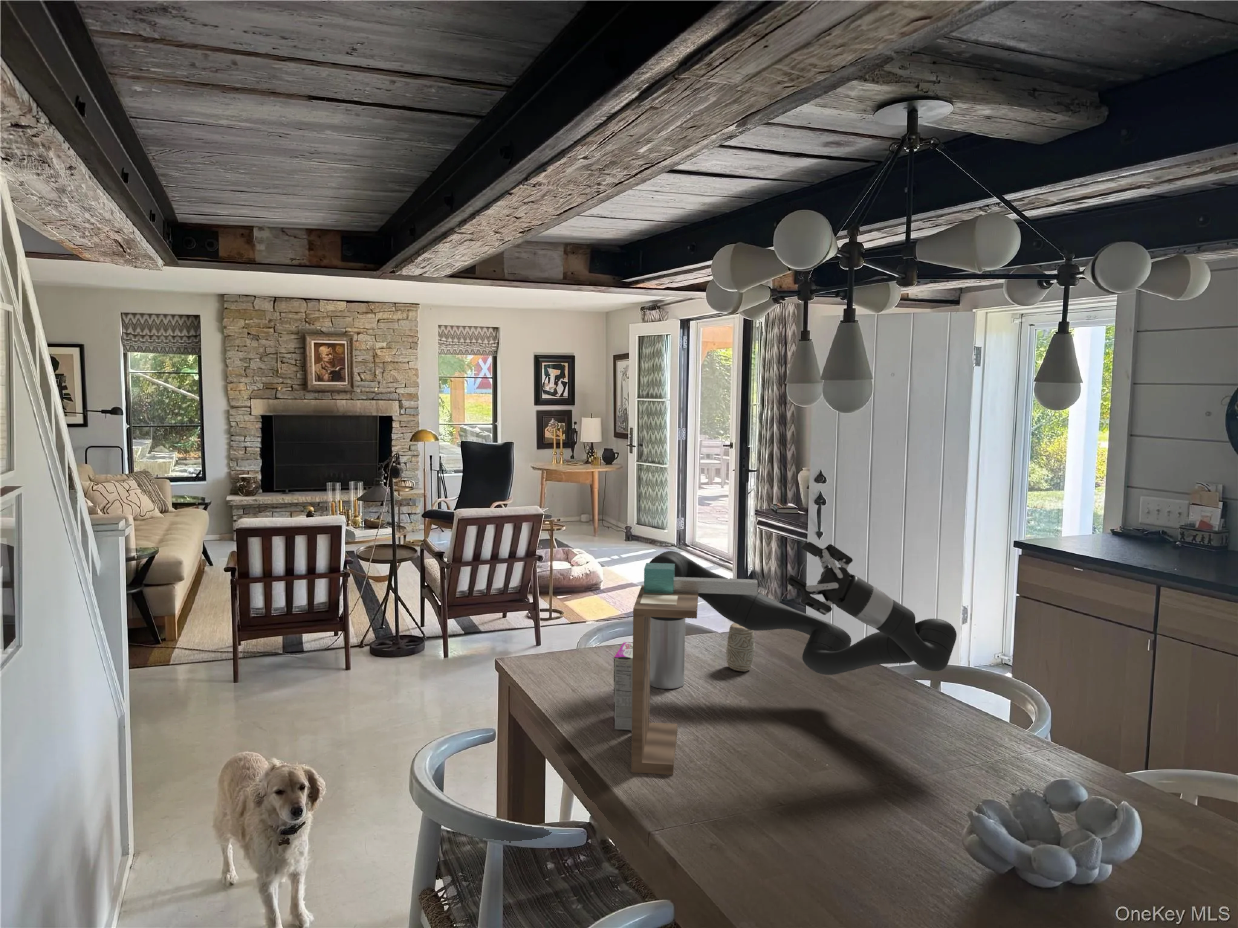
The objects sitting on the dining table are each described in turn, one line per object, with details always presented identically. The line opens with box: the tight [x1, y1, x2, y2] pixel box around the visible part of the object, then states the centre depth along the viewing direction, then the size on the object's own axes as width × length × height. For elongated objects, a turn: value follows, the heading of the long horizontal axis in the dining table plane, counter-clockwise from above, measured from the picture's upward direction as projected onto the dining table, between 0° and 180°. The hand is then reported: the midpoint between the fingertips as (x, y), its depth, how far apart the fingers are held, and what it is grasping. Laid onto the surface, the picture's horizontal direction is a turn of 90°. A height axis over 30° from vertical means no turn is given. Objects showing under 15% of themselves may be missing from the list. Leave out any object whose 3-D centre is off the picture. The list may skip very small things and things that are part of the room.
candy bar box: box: [613, 641, 633, 732], centre depth 183 cm, size 11×5×16 cm, turn 168°
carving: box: [725, 622, 756, 673], centre depth 220 cm, size 6×8×12 cm
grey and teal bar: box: [643, 562, 759, 595], centre depth 171 cm, size 6×23×5 cm, turn 84°
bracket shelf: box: [630, 584, 699, 776], centre depth 167 cm, size 20×12×32 cm, turn 174°
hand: (795, 560), depth 171 cm, fingers open, 8 cm apart
